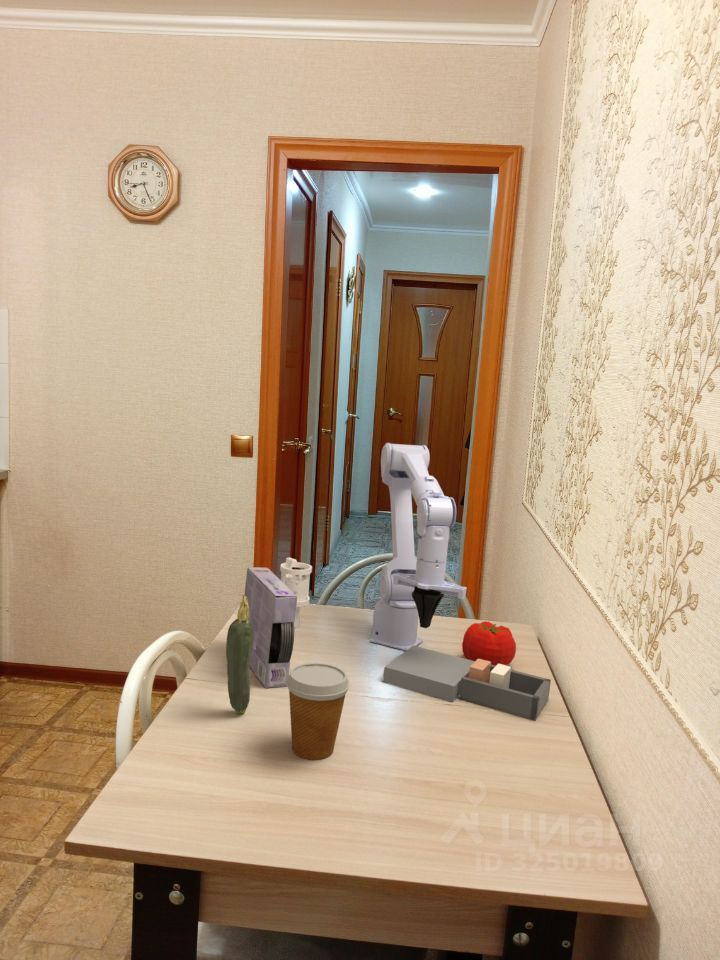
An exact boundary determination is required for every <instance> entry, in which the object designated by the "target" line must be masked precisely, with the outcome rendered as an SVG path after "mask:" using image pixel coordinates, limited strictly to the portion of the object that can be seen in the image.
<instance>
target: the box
mask: <svg viewBox="0 0 720 960" xmlns="http://www.w3.org/2000/svg"><path fill="white" fill-rule="evenodd" d="M494 668H495V665H491V666H490V672H491V671H492V670H493V669H494ZM489 680H490V675H489ZM551 683H552V679H549V678H545V677H542V676H538V675H534V674H529V673H525V672H522V671H518V670H514V669H511V673H510V682H509V689H508V688H505V687H501V686H497V685H493V684H490V683H486V682H482V681H479V680H475V679H471V678H467V677H464V676H463V677H462V678H461V686H460V695H459V696H458V697H459V698H458V699H459V700H462V701H465V702H469V703H472V704H475V705H479V706H483V707H486V708H489V709H493V710H496V711H499V712H504V713H507V714H509V715H514V716H516V717H517V716H518V717H520V718H524V719H528V720H532V721H534V722H536V720H537V719H538V717H539V716H540V714H541V712H542V711H543V710H544V708H545V707H546V705H547V703H548V702H549V697H550V690H551Z"/></svg>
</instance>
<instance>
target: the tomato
mask: <svg viewBox="0 0 720 960" xmlns="http://www.w3.org/2000/svg"><path fill="white" fill-rule="evenodd" d="M461 648H462V649H461V650H462V654H463V657H464V659H468V660H472V661H476V660H477V659H482V660H486V661H490V662H491V665H495V666H496V665H497V664H502V665H506V666H509V665H510V664H511V663H512V661H514V659H515V657H516V653H517V643H516V641H515V638H514V636H513V633H512V631H511V629H510V628H509V627H506V626H503V625H499V626H497V623H494V624H493V623H492V622H490V621H482V622H480V623H478V622H474V623H472V624H471V625H470V626H468V628H466V630H465V632H464V635H463V638H462V644H461Z"/></svg>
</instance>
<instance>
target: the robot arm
mask: <svg viewBox="0 0 720 960" xmlns="http://www.w3.org/2000/svg"><path fill="white" fill-rule="evenodd" d="M430 456H431V454H430V449H429V448H428V447H427V445H426V444H422V445H418V444H417V445H415V444H402V443H401V444H399V443H391V442H386V443H385V444H384V445H383V446H382V450H381V456H380V467H381V468H380V471H381V472H380V474H381V478H382V479H381V480H382V483H383V484H385V485H387V486H388V490H389V498H390V521H391V523H390V524H391V541H392V559H390V561H388V562H387V563H385V564H384V566H382V569H381V571H380V581H379V582H380V583H379V594H380V599H379V600H378V601H377V602H376V604H375V606H374V609H373V615H372V625H371V626H372V627H371V628H372V629H371V637H370V638H369V642H371V643H374V644H379V645H383V646H387V647H390V648H394V649H397V650H402V651H403V652H405V651H406V650H408V649H409V648H411V647H412V646H413V645H414V646H417V647H418V645H420V644H422V643H423V641H424V640H423V638H419V637H417V635H418V626H419V628H424V629H427V628H429V627H431V623H432V621H433V618H434V614H435V612H436V611H437V608H438V606H439V604H440V603H441V600H442V599H443V598H444V596H445V595H447V596H451V597H456V598H457V599H460V600H463V599H465V598H466V596H467V595H466V594H467V587H466V586H462V585H460V584H457V583H453V582H451V581H446V580H445V577H446V569H447V560H448V549H449V548H448V547H449V539H450V529H451V528H454V525H455V523H456V520H457V505H456V502H455V499H454V498H453V497H451V496H450V497H449V496H446V495H445V494H444V492H443V489H442V488H441V486H440V484H439V481H438V480H437V479H436V478H435V477H434V475H430V474H429V470H428V468H429V465H430V460H431V458H430ZM412 499H413V500H414V502H415V505H416V506H417V508H416V520H417V528H416V530H417V531H416V532H417V534H418V542H417V545H418V546H417V554H416V555H415V539H414V538H415V537H414V536H415V535H414V519H413V518H414V517H413V501H412ZM418 623H419V624H418Z"/></svg>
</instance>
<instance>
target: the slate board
mask: <svg viewBox="0 0 720 960" xmlns="http://www.w3.org/2000/svg"><path fill="white" fill-rule="evenodd" d="M474 662H475V661H472V660H468V659H466V658H465V657H464V658H463V657H459V656H457V655H452V654H448V653H444V652H440V651H436V650H432V649H428V648H424V647H421V646H418V645H417V646H414V645H413V646H412V647H411V648H409V649H408V650H406V651H403V652H402V653H400V655H398V656H397V657H396V658H394V659H393V660H392V661H390V662H389V663H388V664H386V665H384V666H383V667H384V669H383V677H382V683H385V684H388V683H389V684H388V685H392V686H397V687H398V688H402V689H405V690H410V691H413V692H417V693H420V694H424V695H428V696H430V697H433V698H437V699H441V700H445V701H448V702H451V703H453V702H455V701H456V699H457V698H458V697H459V695H460V686H461V678H462V677H463V676H464V677H467V678H469V670H470V666H471V665H472V664H473V663H474Z"/></svg>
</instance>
